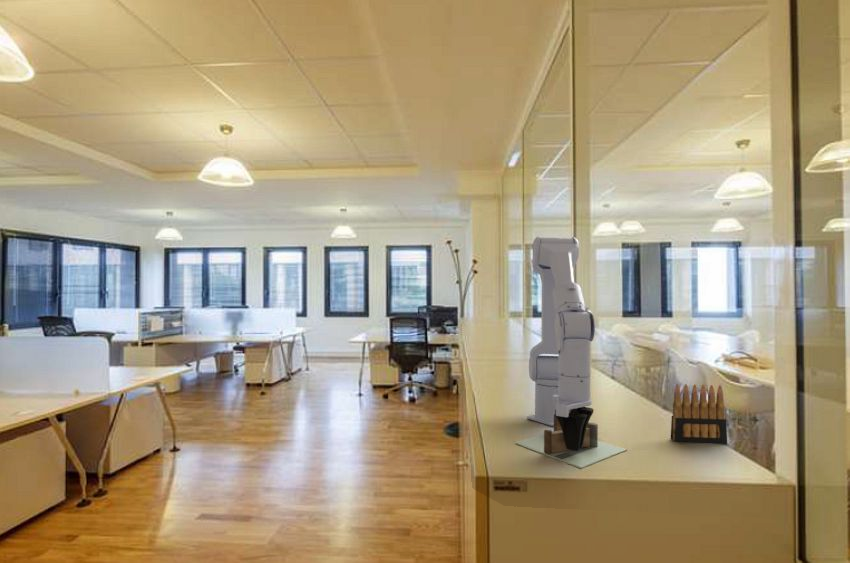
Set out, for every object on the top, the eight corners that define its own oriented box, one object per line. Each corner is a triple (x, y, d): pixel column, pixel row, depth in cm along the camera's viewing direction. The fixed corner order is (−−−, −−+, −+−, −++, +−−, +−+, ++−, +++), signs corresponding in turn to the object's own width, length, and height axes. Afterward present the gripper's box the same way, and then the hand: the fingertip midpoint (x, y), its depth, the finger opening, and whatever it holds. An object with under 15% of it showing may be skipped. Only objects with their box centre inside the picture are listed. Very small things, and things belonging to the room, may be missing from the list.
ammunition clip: (721, 441, 91) (721, 384, 91) (727, 444, 89) (727, 386, 89) (670, 439, 91) (670, 382, 91) (675, 442, 89) (675, 384, 90)
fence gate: (584, 444, 86) (584, 423, 86) (589, 446, 84) (590, 425, 84) (542, 451, 81) (542, 430, 81) (547, 453, 80) (547, 432, 80)
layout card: (561, 430, 96) (561, 428, 96) (626, 450, 84) (626, 449, 84) (515, 443, 87) (515, 442, 87) (581, 468, 75) (581, 467, 75)
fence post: (557, 433, 93) (557, 412, 93) (599, 447, 85) (599, 424, 85) (551, 435, 92) (551, 414, 92) (593, 449, 84) (594, 426, 84)
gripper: (565, 368, 89) (565, 434, 88) (539, 377, 77) (539, 453, 77) (601, 371, 85) (601, 441, 84) (579, 382, 73) (579, 463, 72)
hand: (574, 447), depth 80 cm, fingers closed
